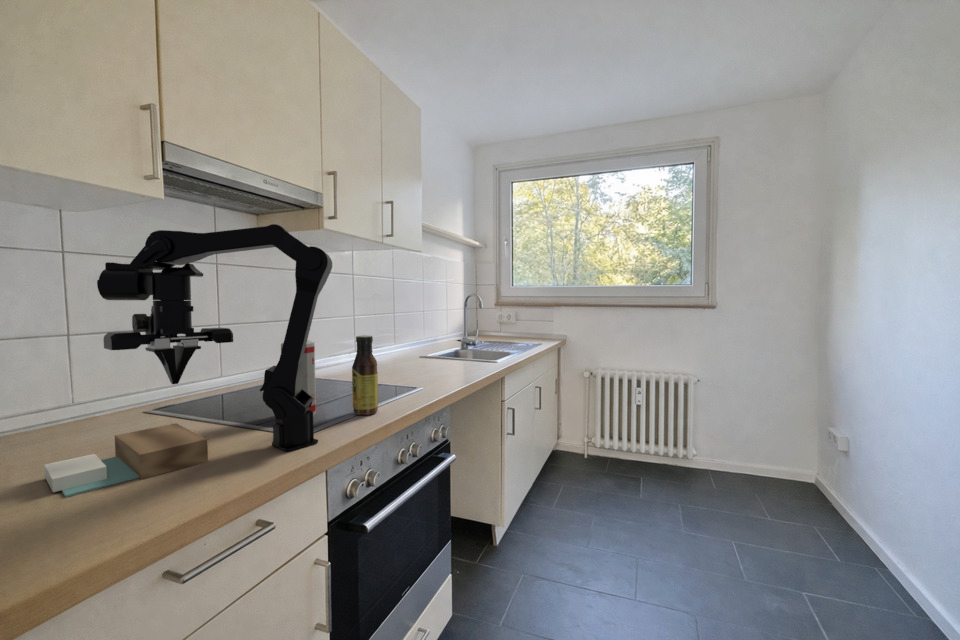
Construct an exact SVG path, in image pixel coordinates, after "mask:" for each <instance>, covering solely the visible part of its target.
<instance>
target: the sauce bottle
mask: <svg viewBox="0 0 960 640" xmlns="http://www.w3.org/2000/svg"><path fill="white" fill-rule="evenodd" d="M373 340H374V339H373V335H367V334H365V335H364V334H362V335H357V336H356V337H355V342H356V354H355V358H354V361H353V363H352V366H351V375H352V376H351V382H352V384H351V385H352V386H351V387H352V408H353V414H355V413H356V414H359V415H358V416H371V414H372V415H374V414H376V413H377V412H378V406H379V386H378V385H379V384H378V381H379V380H378V379H379V378H378V377H379V376H378V375H379V374H378V361H377V359H376V357H375V356H374V354H373ZM356 414H355V415H356Z"/></svg>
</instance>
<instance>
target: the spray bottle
mask: <svg viewBox="0 0 960 640" xmlns="http://www.w3.org/2000/svg"><path fill="white" fill-rule="evenodd" d="M283 343H284V342H281V343H280V352H281V351H282V347H283ZM315 354H316V352H315V341H312V340H309V339H307V343H306V347H305V351H304V355H303V359H302V373H303V379H302V389H303V390H305V391H306V392H307V393H308V394H309V395H310V396H312V397H313V402H312V405H311V407H310V408H309V409H308V410H310V411H313V415H314V414H315V413H316V414H317V404H316V402H317V401H316V400H317V398H316V357H315V356H316V355H315ZM316 414H315V415H316ZM315 415H314V416H315Z"/></svg>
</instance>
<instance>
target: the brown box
mask: <svg viewBox="0 0 960 640" xmlns="http://www.w3.org/2000/svg"><path fill="white" fill-rule="evenodd" d="M208 446H209V445H208V438H206V437H204V436H202V435H200V434H198V433H196V432H195V431H192V430H190V429H188V428H186V427H185V426H182V425H180V424H178V423H176V422H175V423H171V424H167V425H160V426H155V427H151V428H146V429H141V430H136V431H130V432H126V433H121V434H120V433H119V434H116V435H114V450H115V451H114V453H115V456H114V457H118V458H119V459H120V460H122V461H123V462H124V463H125V464H126V465H127V466H128V467H130V468H131V469H132V470H133V471H134V472H135V473H136V474H138V475H139V478H138V479H140V480H144V479H147V478H151V477H155V476H158V475H162V474H166V473H169V472H173V471H177V470H180V469H185V468H187V467H191V466H195V465H199V464H203V463H206V462H209V449H208V448H209V447H208Z"/></svg>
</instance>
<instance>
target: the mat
mask: <svg viewBox="0 0 960 640" xmlns="http://www.w3.org/2000/svg"><path fill="white" fill-rule="evenodd" d="M100 460H101V461H102V462H103V463H104V464H105V465H106V468H107V479H104V480H100V481H96V482H92V483H88V484H85V485H81V486H77V487H73V488H69V489H65V490H61V491H60V492H61V493H62V494H63V496H64V497H65V498H69V497H72V496H75V495H80V494H83V493H87V492H92V491H95V490H98V489H102V488H106V487H110V486H113V485H117V484H121V483H125V482H129V481H132V480H137V479H140V478H139V475H138V474H136V473H135V472H134V471H133V470H132V469H131V468H130V467H128V466H127V465H126V464H125V463H124V462H123V461H122V460H120V459H119V458H118V457H116V456H113V457H109V458H104V459H100Z"/></svg>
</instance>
